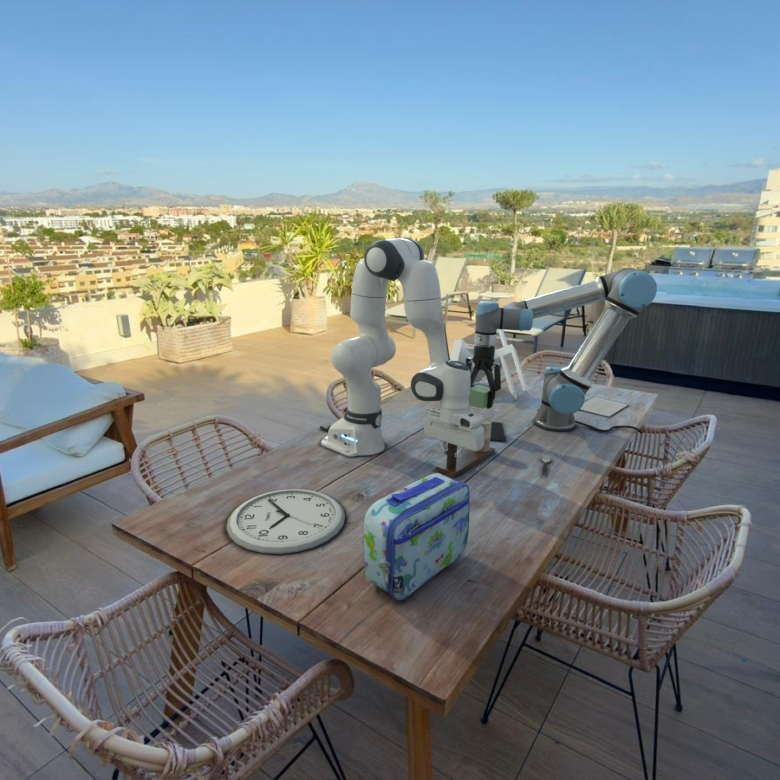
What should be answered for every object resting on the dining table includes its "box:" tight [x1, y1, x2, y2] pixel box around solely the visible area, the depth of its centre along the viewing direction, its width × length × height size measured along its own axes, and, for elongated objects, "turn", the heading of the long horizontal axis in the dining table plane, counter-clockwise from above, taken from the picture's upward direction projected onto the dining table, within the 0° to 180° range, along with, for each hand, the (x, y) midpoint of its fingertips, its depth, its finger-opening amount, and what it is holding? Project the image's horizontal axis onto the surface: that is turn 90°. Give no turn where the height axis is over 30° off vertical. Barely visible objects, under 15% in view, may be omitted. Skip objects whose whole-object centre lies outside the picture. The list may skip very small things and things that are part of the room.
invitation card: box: [580, 396, 629, 418], centre depth 226 cm, size 21×1×15 cm
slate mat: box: [490, 421, 506, 443], centre depth 197 cm, size 18×18×1 cm
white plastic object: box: [450, 329, 531, 400], centre depth 245 cm, size 37×45×31 cm
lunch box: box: [362, 472, 471, 601], centre depth 112 cm, size 26×11×21 cm, turn 134°
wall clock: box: [226, 488, 346, 555], centre depth 135 cm, size 30×2×30 cm
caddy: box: [435, 417, 496, 478], centre depth 170 cm, size 7×25×12 cm, turn 140°
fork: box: [541, 451, 552, 476], centre depth 168 cm, size 3×16×2 cm, turn 160°
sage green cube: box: [469, 384, 495, 410], centre depth 193 cm, size 7×7×6 cm
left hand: (451, 455), depth 163 cm, fingers closed on caddy, 3 cm apart
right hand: (479, 405), depth 194 cm, fingers closed on sage green cube, 7 cm apart
